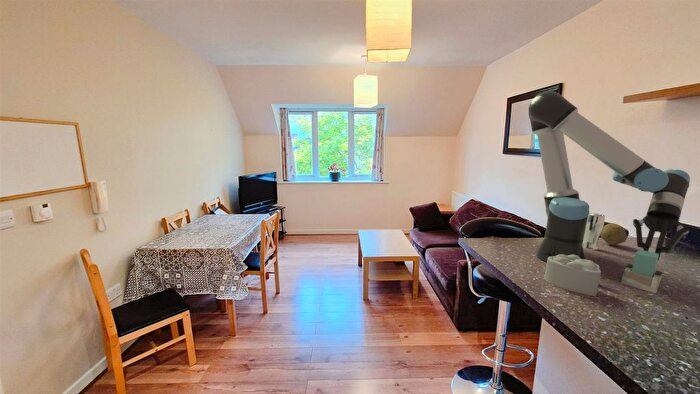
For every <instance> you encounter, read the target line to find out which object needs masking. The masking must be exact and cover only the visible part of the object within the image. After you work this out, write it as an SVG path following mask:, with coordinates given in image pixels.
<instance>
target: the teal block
mask: <svg viewBox="0 0 700 394" xmlns="http://www.w3.org/2000/svg"><path fill="white" fill-rule="evenodd" d="M658 257H659V254H657V253H653V252H648V251H644V250H643V249H638V250H637V251H636V252H635V255H634V258H633V263H632V265H633V267H632V272H636V273H640V274H644V275H647V276H651V277H654V275H655V272H656V268H657V265H658V262H659V260H658ZM659 258H660V257H659Z"/></svg>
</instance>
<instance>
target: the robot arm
mask: <svg viewBox="0 0 700 394" xmlns="http://www.w3.org/2000/svg"><path fill="white" fill-rule="evenodd" d="M578 109H579V108H578V107H577V106H575V105H574V104H572V102H570V101H569V100H568V99H566V98H565V97H564V96H563V95H562V94H560V93H558V92H555V91H551V90H550V91H543V92H541V93H539V94H537V95H536V96H535V97H534V98H532V100H531V101H530V103H529V105H528V117H529V121H530V126H531V127H530V128H531V132H532V133H533V134H534V135H536V136H537V142H538V147H539V153H540V157H541V163H542V169H543V174H544V180H545V186H546V193H544V195H543V199H544V205H545V213H546V216H547V222H546V226H545V234H544V237H543V239H542V241H541V242H540V244H539V246H538V247H537V250H536V257H537V258H538V259H540V260H542V261H544V262H546V263H547V260H548V257H550V256H557V255H560V254H563V255H566V256H568V255H577V256H579V257H580V258H581V259H586V255H585V254H586V253H585V250H584V249H585V248H583V239H584V234H585V229H586V224H587V218H588V215H589V213H590V205H589V203H588V202H587V201H585V200H582V199H581V198H580V194H579V191H578V190H576V189H575V188H573V182H572V177H571V170H570V164H569V163H570V162H569V159H568V153H567V148H566V141H565V136H566V137H567V138H568V139H570V140H572V142H574V143H576V144H577V145H578V146H580V147H581V148H582V149H584V150H585V151H587V152H588V153H589V154H591V156H593V157H594V158H596V159H597V160H598V161H600V162H601V163H603V164H604V165H605V166H606V167H608V168H609V169H610V170H612V171H613V174H612V180H613V181H614V182H618V183H620V184H623V185H626V186H629V187H632V188H635V189H637V190H639V191H641V192H647V193H652V196H651V199H650V202H649V207H648V208H647V212H646V215H645V216H644V217H642V219H641V218H640V219H637V218H634V219H632V225H633V227H634V228H635V234H636V235H635V236H636V246H637V248H641V249H642V250H644V251H648V252H653V253H657V254H659V257H658V261H659V260H660V257H661V254H663V253H665V254H669V253H671V251H672V250H674V248H675V246H676V245H677V244H678V243H679V241H680V240H681V239H682V237H685V236H687V235H688V234H689V232H690V228H689V227H687V226H685V227H684V226H682V225H681V222H680V217H681V214H682V210H683V207H684V204H685V201H686V200H685V198H686V197H687V196H686V195H687V192H688V189H689V187H690V182H691V178H690V177H691V176H690V175H689V173H687V171H684V170H682V169H672V168H669V169H665V170H662V169H660V168H657V167H655V166H654V165H652V164H651V163H649V162H647V160H645V159H643V158H642V157H641V156H639V155H638V154H637V153H635V152H634V151H633V150H630V149H629V148H628V147H627V146H626V145H624V144H623V143H622V142H620V141H619V140H617V139H616V138H614V137H612V136H611V135H610V134H609V133H607V132H606V131H604V130H603V129H601V128H600V127H599V126H597V125H596V124H594V123H593V122H592V121H590V120H589V119H587V118H586V117H585V116H583V115H582V114H580V113H579V112H578ZM643 225H645V226H646V228H647V229H648V234H647V237H646V239H645V242H643V232H642V231H643V230H642V226H643ZM674 230H676V233H675V234H674V235H673V236H672V237H671V238H670V240H669V241H668V243H667V244H666V245H665V246H664V243H665V240H666V237H667V234H668V233H671V232H672V231H674ZM656 233H659V237H658V240H657V243H656V247H655V248H654V247H652V243H653V240H654V236H655V234H656ZM586 260H587V259H586Z"/></svg>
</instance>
